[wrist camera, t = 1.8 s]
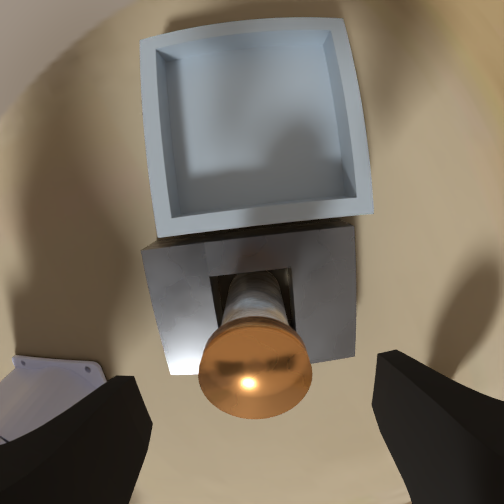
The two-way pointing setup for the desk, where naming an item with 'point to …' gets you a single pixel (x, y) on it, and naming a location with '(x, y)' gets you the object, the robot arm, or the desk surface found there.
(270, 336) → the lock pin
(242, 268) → the block
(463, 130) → the desk surface
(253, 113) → the tray
